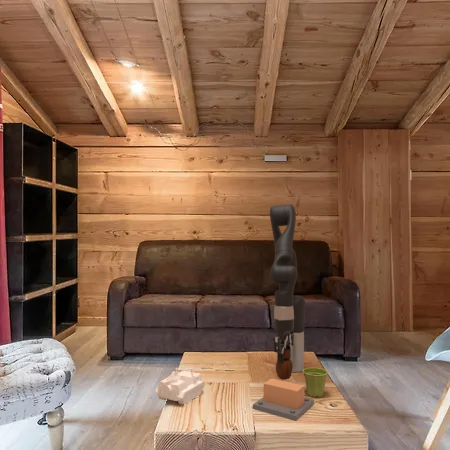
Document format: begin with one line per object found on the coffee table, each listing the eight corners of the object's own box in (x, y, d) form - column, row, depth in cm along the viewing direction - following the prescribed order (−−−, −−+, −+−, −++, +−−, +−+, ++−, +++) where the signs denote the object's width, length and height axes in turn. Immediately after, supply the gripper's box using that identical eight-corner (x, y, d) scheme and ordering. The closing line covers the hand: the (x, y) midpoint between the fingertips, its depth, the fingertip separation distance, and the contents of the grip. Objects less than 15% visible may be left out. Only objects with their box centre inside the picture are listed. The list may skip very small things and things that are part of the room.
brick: (271, 394, 146) (271, 378, 146) (304, 403, 139) (304, 385, 139) (263, 400, 140) (263, 383, 141) (297, 409, 133) (297, 391, 134)
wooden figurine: (287, 382, 149) (287, 342, 149) (273, 379, 152) (273, 340, 152) (294, 376, 155) (294, 338, 155) (280, 374, 158) (280, 336, 158)
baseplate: (273, 394, 150) (273, 388, 151) (313, 404, 142) (313, 397, 142) (252, 408, 137) (252, 401, 137) (295, 420, 128) (295, 413, 128)
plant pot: (297, 394, 150) (298, 371, 151) (309, 387, 157) (309, 365, 158) (320, 401, 144) (320, 377, 144) (332, 394, 151) (332, 370, 152)
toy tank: (205, 392, 152) (206, 366, 152) (175, 412, 134) (175, 382, 134) (180, 387, 157) (180, 362, 158) (147, 405, 140) (148, 376, 140)
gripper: (282, 313, 162) (283, 354, 161) (266, 319, 150) (266, 363, 149) (300, 315, 158) (300, 357, 157) (285, 321, 146) (285, 367, 145)
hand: (284, 360), depth 153 cm, fingers closed on wooden figurine, 6 cm apart
